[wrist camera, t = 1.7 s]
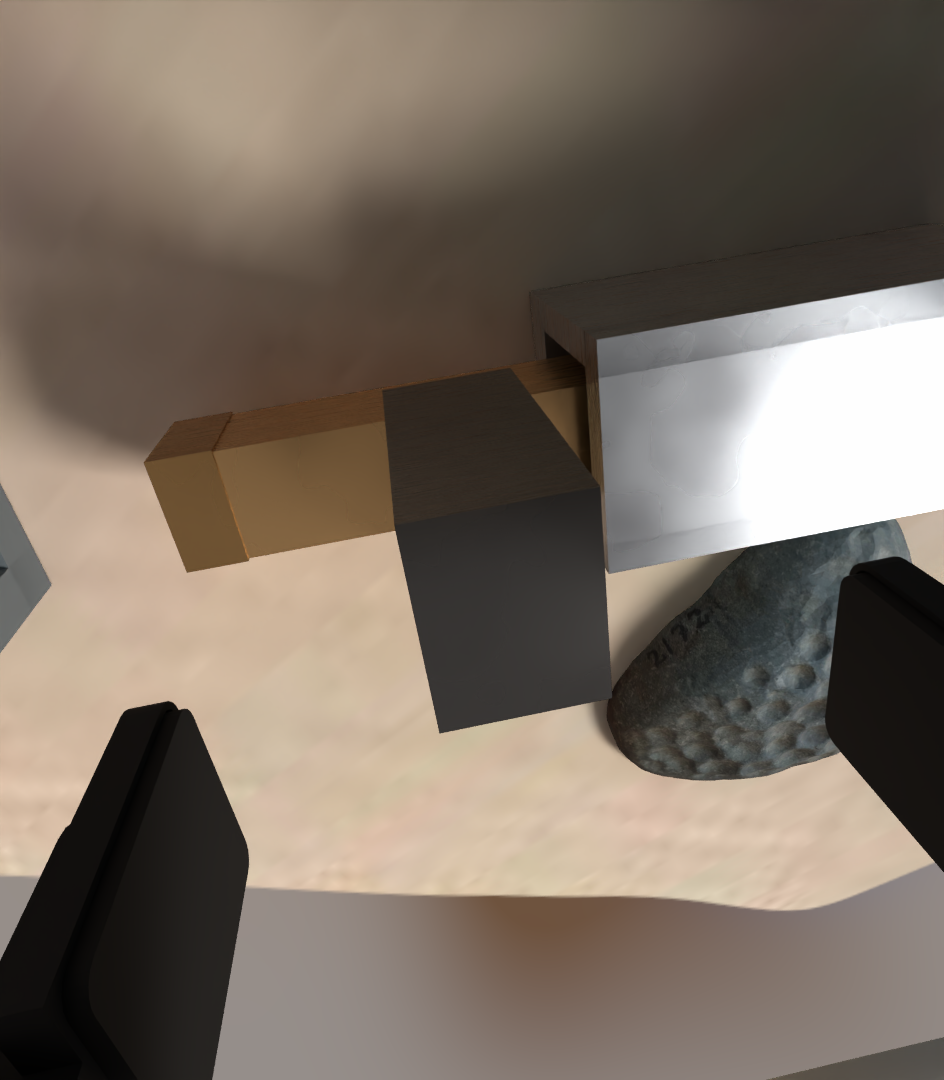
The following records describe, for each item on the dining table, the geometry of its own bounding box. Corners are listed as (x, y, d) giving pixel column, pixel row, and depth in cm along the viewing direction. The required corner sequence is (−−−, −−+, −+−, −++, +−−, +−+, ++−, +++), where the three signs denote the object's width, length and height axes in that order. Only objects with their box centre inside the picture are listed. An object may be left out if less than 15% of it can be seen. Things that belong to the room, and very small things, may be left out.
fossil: (930, 643, 29) (1007, 705, 26) (663, 797, 31) (701, 874, 28) (857, 463, 25) (938, 509, 21) (549, 657, 27) (578, 729, 23)
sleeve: (529, 291, 20) (596, 340, 14) (928, 223, 20) (1147, 243, 15) (546, 472, 23) (608, 573, 17) (899, 406, 23) (1074, 482, 17)
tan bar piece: (167, 401, 18) (-2, 599, 10) (977, 260, 19) (1449, 326, 11) (215, 537, 20) (111, 801, 11) (949, 401, 21) (1331, 549, 13)
